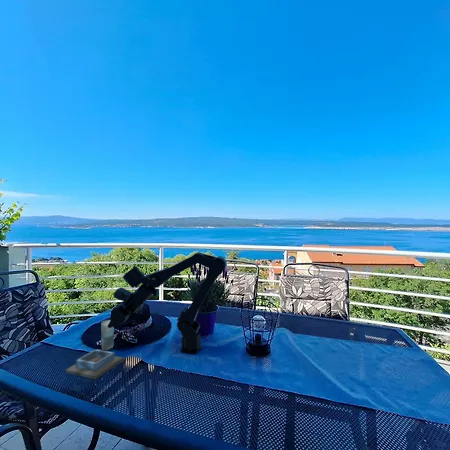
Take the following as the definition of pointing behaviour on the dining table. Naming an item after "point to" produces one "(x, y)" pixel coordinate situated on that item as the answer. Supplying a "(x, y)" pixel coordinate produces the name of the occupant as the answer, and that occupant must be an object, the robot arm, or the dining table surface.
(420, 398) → the dining table surface
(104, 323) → the peg
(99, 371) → the socket
